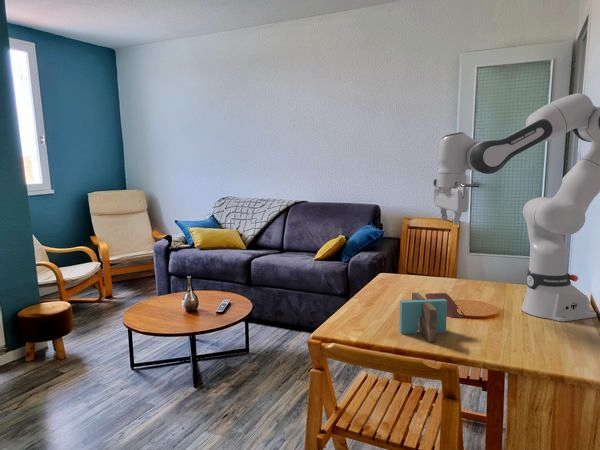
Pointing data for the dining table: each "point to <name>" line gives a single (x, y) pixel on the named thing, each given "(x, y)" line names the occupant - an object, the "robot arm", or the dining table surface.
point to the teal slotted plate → (420, 314)
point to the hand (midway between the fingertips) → (449, 222)
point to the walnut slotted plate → (427, 319)
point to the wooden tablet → (450, 304)
